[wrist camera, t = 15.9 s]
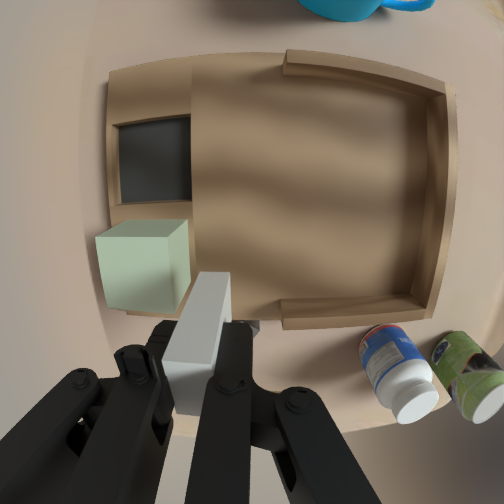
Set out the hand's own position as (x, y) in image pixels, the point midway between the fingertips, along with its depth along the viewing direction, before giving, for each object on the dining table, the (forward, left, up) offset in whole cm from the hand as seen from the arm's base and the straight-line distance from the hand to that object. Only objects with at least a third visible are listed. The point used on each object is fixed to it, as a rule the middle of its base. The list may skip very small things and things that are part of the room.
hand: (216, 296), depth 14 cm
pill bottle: (+10, +15, -9) cm, 20 cm away
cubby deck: (-5, +4, -9) cm, 11 cm away
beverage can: (+12, +25, -9) cm, 29 cm away
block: (0, -6, -7) cm, 9 cm away
